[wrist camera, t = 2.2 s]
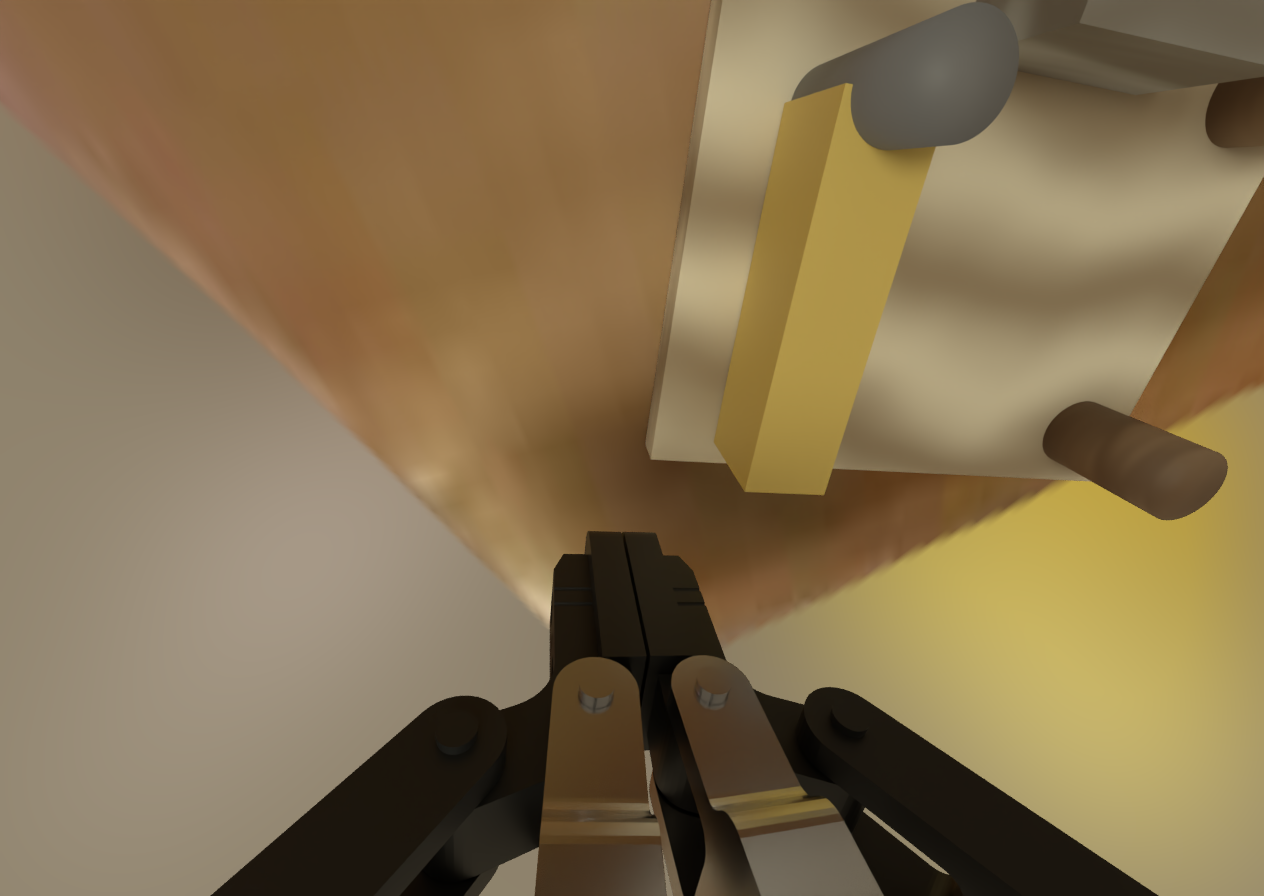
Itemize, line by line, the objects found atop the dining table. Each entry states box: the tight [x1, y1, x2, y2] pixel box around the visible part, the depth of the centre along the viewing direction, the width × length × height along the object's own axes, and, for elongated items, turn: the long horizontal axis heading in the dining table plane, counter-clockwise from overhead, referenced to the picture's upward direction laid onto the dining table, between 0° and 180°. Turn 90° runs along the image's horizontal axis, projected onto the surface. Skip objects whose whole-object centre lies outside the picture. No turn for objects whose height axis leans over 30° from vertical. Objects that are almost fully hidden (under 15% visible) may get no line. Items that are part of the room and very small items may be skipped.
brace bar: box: [714, 2, 1019, 495], centre depth 17 cm, size 13×3×6 cm, turn 173°
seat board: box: [645, 0, 1264, 520], centre depth 19 cm, size 18×22×6 cm
